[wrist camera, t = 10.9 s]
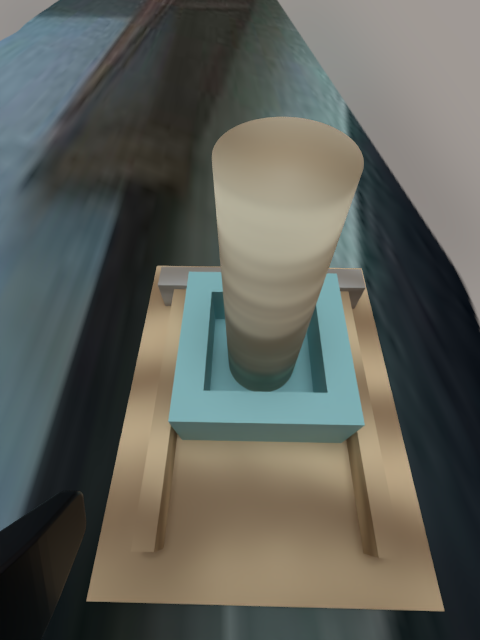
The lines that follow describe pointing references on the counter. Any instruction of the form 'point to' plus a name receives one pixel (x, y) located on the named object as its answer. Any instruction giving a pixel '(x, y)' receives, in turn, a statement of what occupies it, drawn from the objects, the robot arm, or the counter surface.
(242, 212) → the birch dowel
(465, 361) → the counter surface
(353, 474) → the rail base
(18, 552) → the robot arm
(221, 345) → the socket block
